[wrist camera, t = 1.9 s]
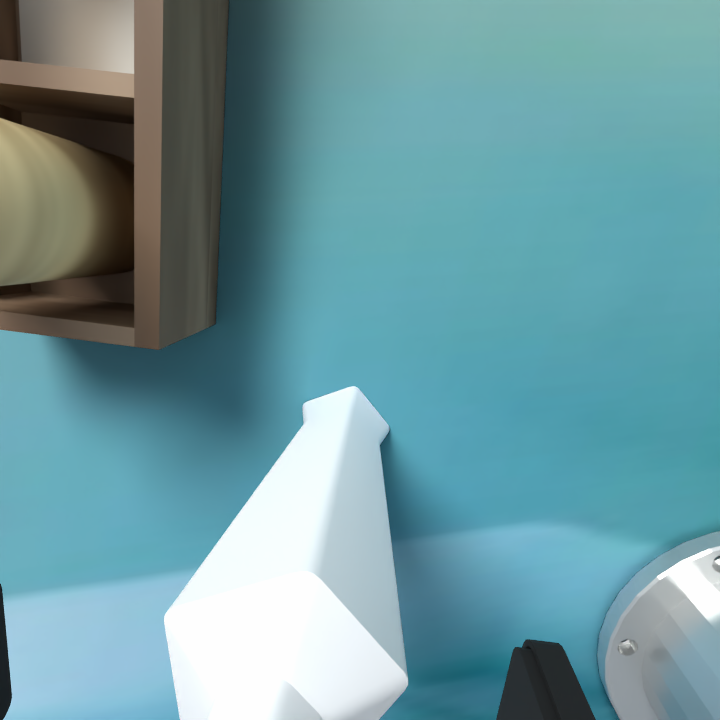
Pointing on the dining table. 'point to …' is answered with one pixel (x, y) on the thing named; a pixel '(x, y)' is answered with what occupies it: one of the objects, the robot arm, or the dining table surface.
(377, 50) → the dining table surface
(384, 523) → the white faceted vase
